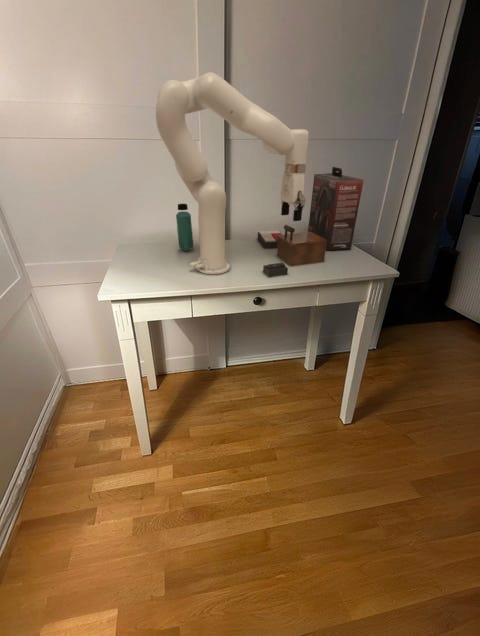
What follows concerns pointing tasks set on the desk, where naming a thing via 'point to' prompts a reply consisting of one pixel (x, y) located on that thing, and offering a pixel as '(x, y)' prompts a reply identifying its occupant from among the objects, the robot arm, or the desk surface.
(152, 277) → the desk surface
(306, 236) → the lid
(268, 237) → the calculator
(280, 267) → the black capsule on box
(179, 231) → the beverage bottle
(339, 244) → the headset box
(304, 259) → the chest
